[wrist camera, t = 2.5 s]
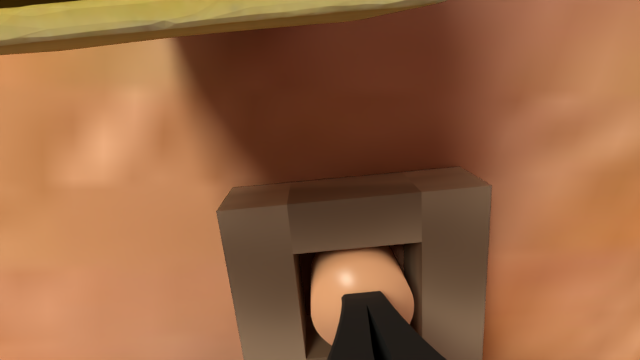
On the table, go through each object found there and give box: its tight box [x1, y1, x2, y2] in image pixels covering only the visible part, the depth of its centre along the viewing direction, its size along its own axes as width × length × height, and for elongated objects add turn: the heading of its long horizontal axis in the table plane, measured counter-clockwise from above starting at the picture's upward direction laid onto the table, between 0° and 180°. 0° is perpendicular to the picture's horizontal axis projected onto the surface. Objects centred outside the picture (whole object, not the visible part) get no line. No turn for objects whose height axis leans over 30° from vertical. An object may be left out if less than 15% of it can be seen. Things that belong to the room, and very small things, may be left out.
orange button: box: [311, 245, 414, 345], centre depth 13 cm, size 4×4×2 cm
